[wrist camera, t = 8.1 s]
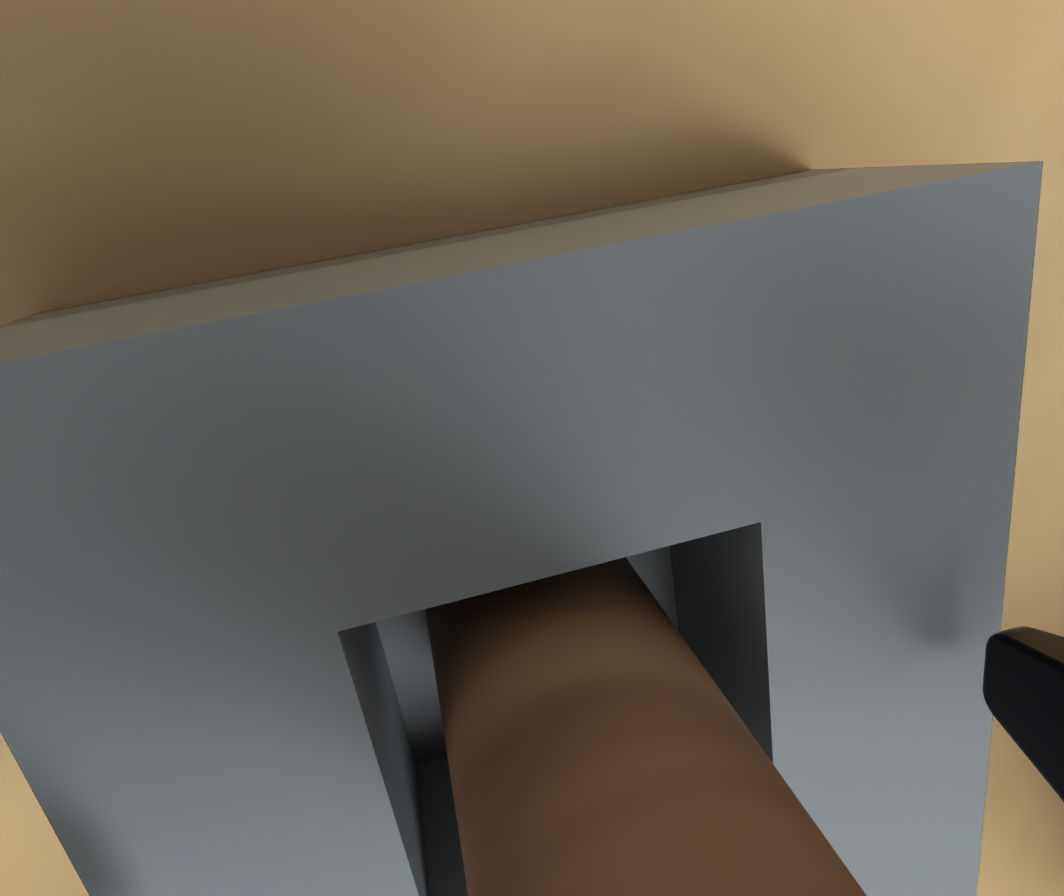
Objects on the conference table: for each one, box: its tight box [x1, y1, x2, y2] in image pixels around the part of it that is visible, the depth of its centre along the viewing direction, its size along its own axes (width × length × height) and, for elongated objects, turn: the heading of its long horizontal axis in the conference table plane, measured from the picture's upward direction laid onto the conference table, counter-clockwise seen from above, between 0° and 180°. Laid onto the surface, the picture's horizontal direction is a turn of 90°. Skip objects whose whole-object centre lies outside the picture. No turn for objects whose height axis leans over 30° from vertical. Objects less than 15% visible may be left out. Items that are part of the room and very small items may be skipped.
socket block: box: [0, 161, 1043, 896], centre depth 10 cm, size 11×11×4 cm
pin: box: [427, 557, 867, 896], centre depth 8 cm, size 3×3×8 cm
